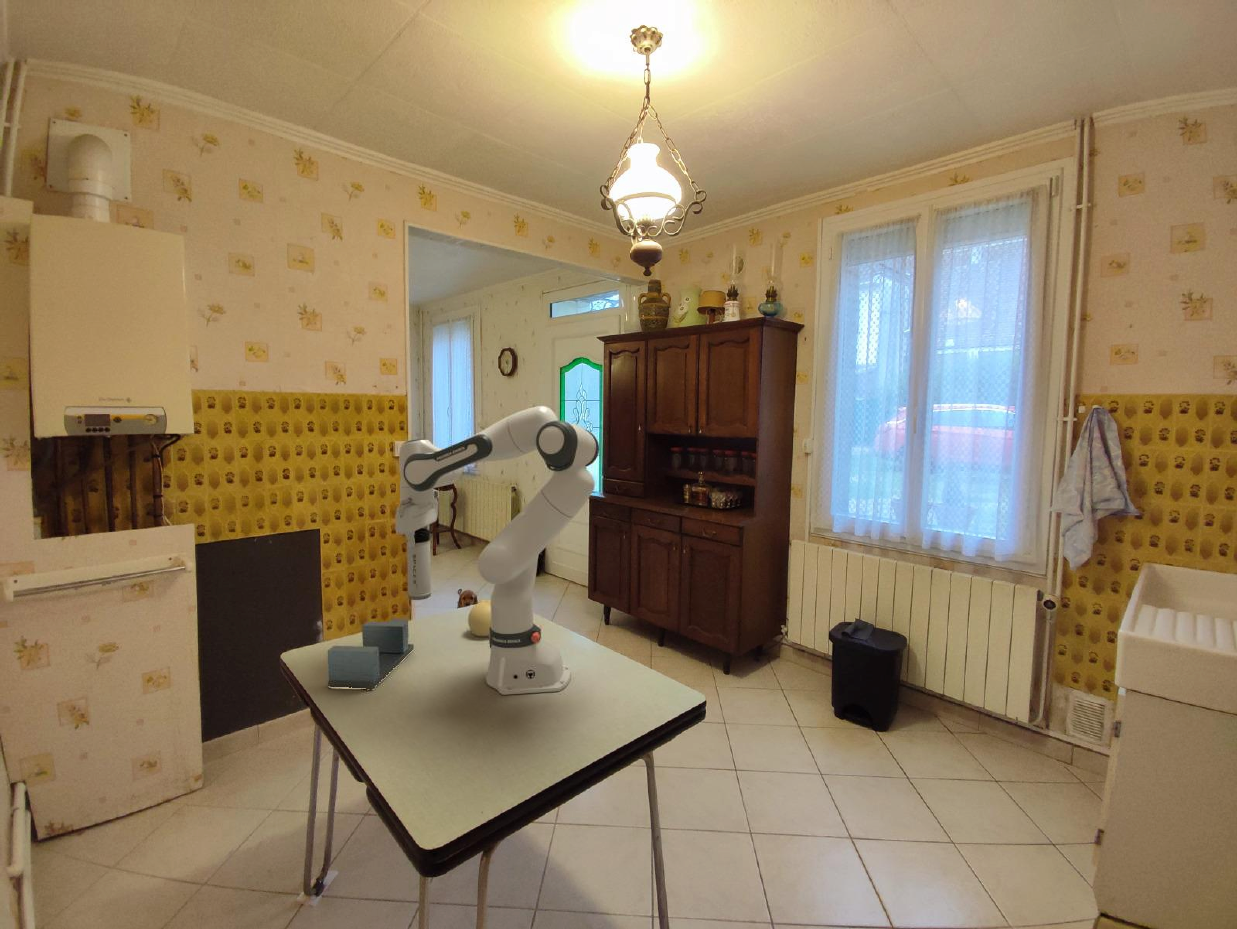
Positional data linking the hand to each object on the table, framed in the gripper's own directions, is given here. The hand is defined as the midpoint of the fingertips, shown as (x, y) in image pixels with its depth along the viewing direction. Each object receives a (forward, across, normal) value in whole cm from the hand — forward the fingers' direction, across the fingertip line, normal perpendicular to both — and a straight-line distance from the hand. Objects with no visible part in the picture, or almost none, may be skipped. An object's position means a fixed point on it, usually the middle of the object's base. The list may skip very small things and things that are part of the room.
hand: (418, 543), depth 161 cm
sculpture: (+33, +18, -14) cm, 40 cm away
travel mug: (+16, 0, 0) cm, 16 cm away
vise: (+33, -10, +9) cm, 36 cm away
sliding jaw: (+31, +1, +10) cm, 33 cm away
